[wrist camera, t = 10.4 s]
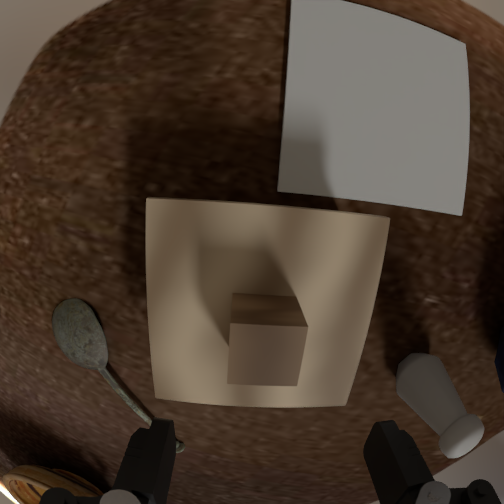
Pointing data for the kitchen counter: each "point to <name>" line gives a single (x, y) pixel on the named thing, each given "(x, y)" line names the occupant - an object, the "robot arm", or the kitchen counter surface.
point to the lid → (259, 300)
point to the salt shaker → (438, 403)
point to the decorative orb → (500, 359)
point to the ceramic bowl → (44, 483)
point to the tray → (374, 108)
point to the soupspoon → (88, 345)
